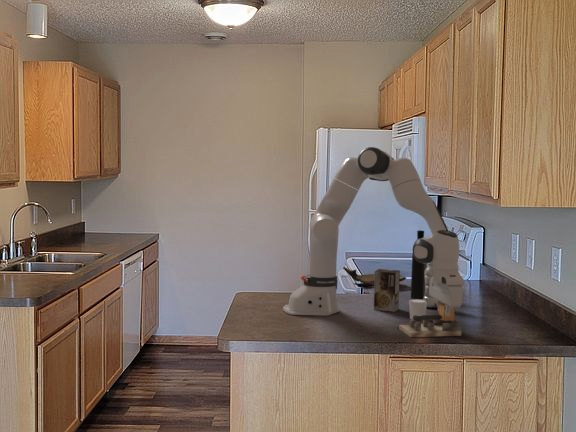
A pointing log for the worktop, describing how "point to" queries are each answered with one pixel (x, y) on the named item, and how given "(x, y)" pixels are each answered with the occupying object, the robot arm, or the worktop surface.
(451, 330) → the board
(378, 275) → the coffee box
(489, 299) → the worktop surface
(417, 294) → the wine bottle
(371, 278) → the oil lamp
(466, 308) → the worktop surface
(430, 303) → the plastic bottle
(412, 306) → the shot glass
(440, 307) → the plug
